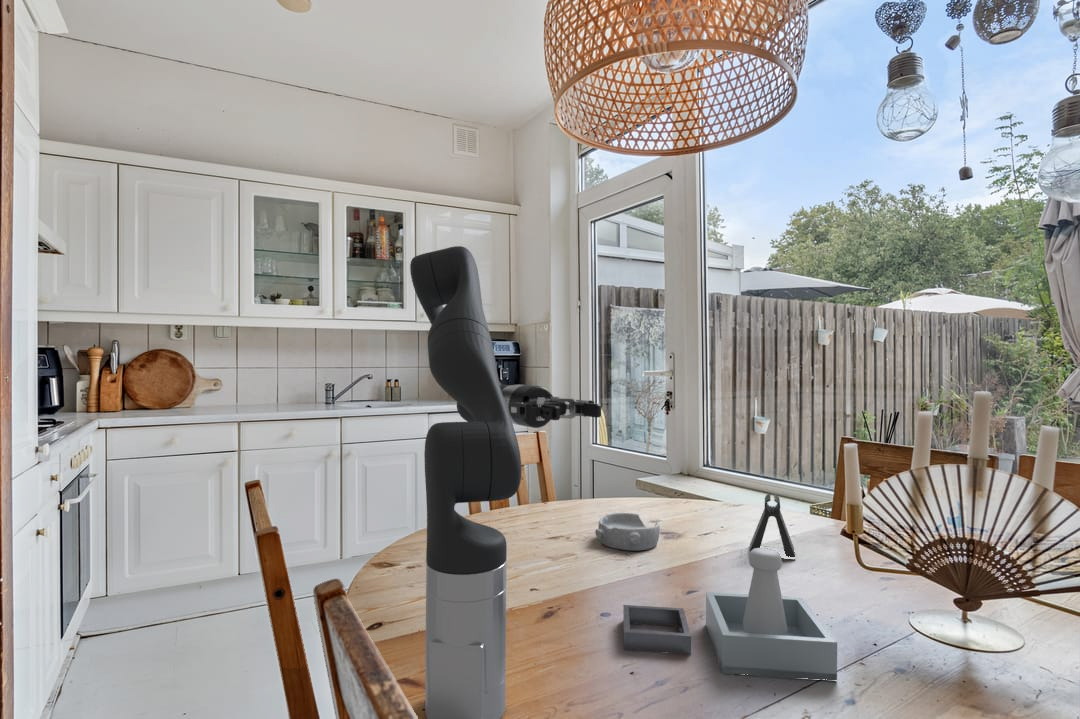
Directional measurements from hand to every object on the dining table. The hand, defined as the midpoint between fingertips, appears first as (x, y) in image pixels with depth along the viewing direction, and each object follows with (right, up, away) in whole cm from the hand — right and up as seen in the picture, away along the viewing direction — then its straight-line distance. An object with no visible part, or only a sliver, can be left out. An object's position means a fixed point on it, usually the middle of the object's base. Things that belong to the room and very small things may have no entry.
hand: (579, 412), depth 94 cm
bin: (+25, -32, -13) cm, 43 cm away
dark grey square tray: (+11, -32, -9) cm, 35 cm away
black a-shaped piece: (+42, -32, +28) cm, 60 cm away
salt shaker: (+25, -31, -13) cm, 42 cm away
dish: (+13, -32, +35) cm, 50 cm away
